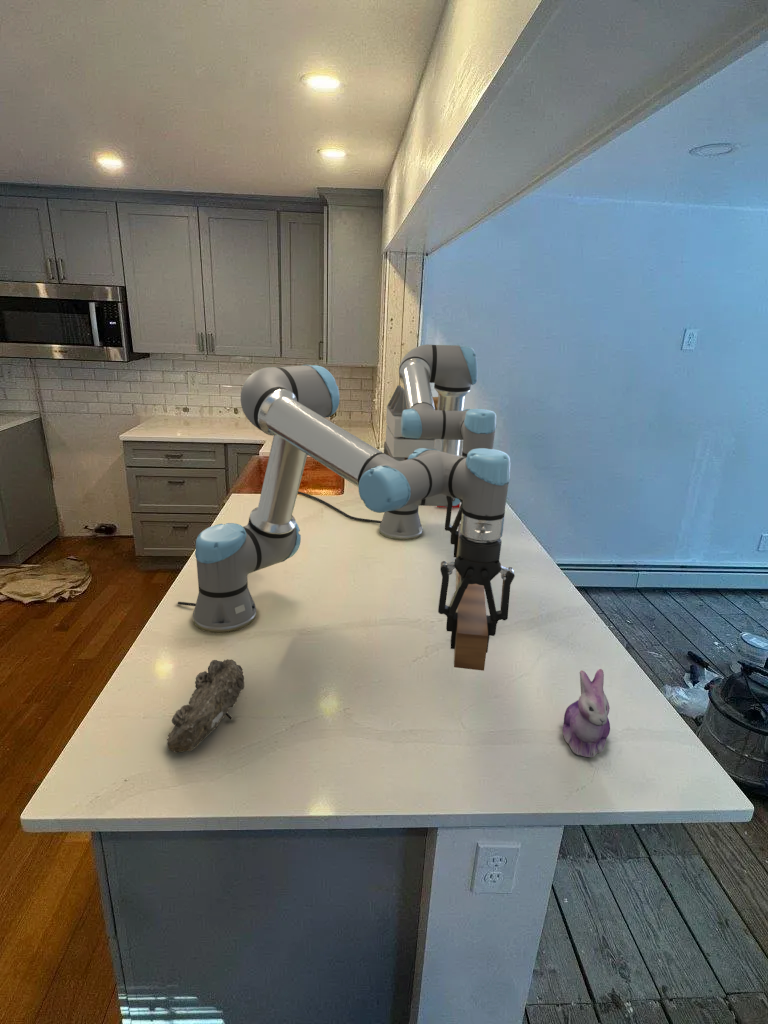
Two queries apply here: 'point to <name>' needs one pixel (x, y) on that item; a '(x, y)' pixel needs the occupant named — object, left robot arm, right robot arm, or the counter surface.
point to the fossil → (206, 705)
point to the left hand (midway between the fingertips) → (468, 646)
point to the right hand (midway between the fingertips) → (466, 556)
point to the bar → (471, 626)
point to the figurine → (588, 717)
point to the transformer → (395, 441)
